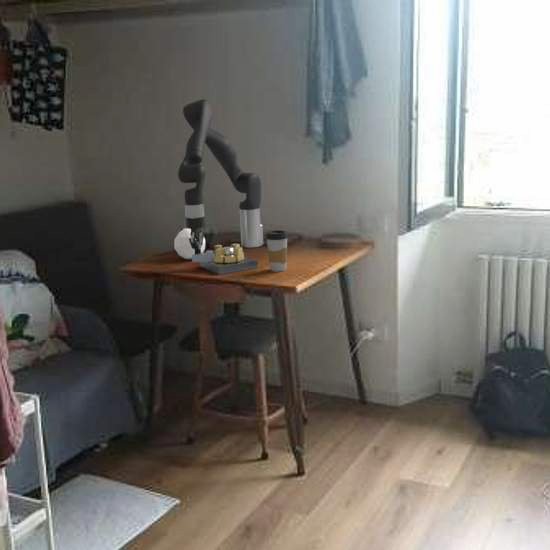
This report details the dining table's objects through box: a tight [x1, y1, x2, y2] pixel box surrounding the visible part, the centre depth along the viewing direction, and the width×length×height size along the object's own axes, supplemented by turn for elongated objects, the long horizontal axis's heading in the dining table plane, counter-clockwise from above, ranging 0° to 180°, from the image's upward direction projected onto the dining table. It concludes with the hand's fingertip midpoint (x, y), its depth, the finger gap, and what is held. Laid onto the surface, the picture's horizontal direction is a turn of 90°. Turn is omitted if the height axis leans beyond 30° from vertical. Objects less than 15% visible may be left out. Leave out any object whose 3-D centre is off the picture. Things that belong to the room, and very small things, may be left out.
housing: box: [200, 246, 259, 275], centre depth 291 cm, size 17×17×8 cm
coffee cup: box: [265, 229, 288, 273], centre depth 282 cm, size 8×8×15 cm
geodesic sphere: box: [173, 227, 206, 260], centre depth 310 cm, size 14×14×14 cm
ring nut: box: [191, 243, 245, 263], centre depth 290 cm, size 21×12×5 cm, turn 101°
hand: (198, 257), depth 292 cm, fingers closed
